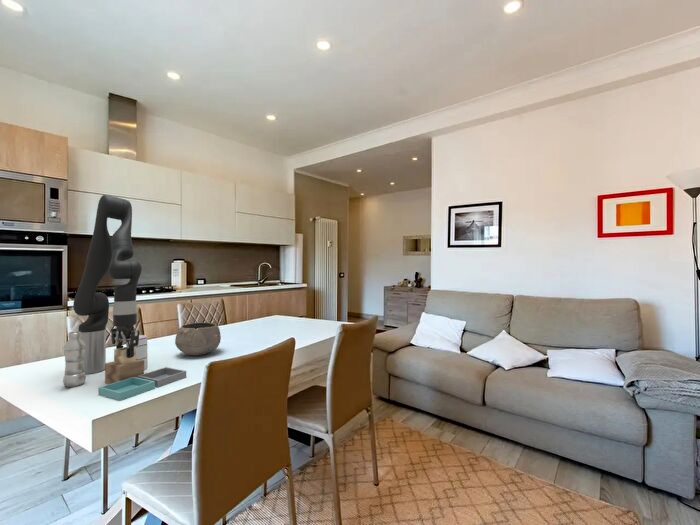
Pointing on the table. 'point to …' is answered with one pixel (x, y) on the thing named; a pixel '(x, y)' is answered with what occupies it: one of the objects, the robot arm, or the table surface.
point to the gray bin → (164, 376)
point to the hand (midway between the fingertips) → (124, 356)
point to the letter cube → (123, 356)
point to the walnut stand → (123, 371)
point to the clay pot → (198, 338)
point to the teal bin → (126, 388)
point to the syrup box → (142, 350)
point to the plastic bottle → (74, 360)
